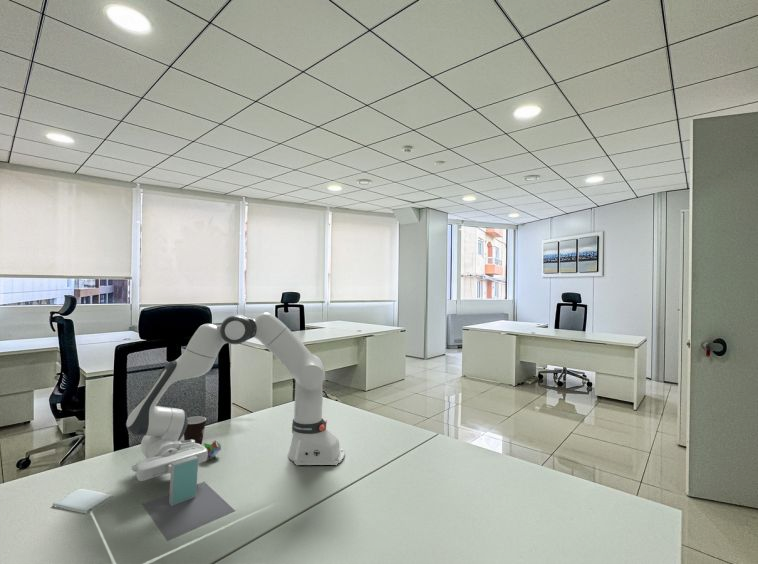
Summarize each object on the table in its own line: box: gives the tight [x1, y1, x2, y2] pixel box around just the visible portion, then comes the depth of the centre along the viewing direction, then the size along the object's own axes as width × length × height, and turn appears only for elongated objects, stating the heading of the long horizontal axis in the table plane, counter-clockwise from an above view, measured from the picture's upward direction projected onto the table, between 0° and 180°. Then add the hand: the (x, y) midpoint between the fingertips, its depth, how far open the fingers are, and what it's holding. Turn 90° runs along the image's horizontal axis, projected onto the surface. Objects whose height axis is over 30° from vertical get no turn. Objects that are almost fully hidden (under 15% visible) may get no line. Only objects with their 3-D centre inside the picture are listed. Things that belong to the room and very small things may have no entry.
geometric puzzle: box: [202, 440, 222, 462], centre depth 136 cm, size 7×7×8 cm
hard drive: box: [52, 488, 114, 514], centre depth 107 cm, size 2×8×12 cm
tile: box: [169, 456, 199, 506], centre depth 110 cm, size 2×7×12 cm, turn 138°
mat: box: [141, 481, 236, 541], centre depth 106 cm, size 22×18×1 cm
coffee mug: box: [183, 416, 207, 445], centre depth 150 cm, size 12×9×10 cm
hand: (181, 470), depth 111 cm, fingers closed
